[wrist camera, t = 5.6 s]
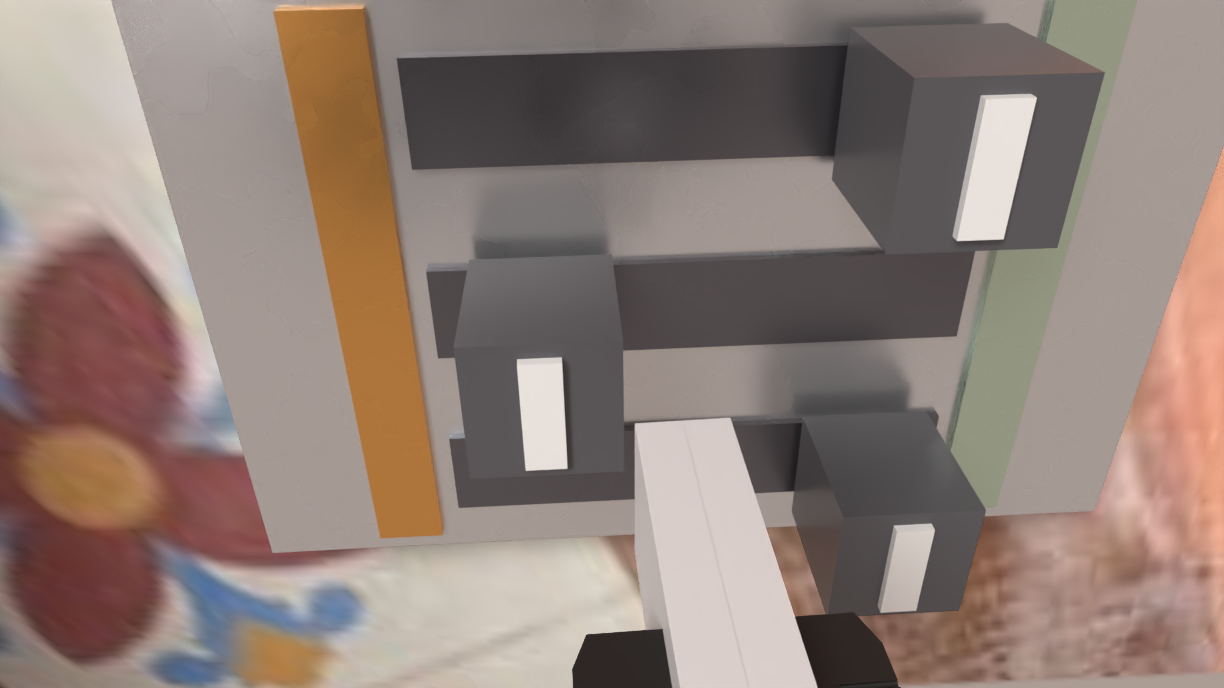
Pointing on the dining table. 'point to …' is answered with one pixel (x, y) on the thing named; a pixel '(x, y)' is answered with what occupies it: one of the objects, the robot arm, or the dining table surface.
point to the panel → (643, 240)
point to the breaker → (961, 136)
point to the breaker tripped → (541, 366)
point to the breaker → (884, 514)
